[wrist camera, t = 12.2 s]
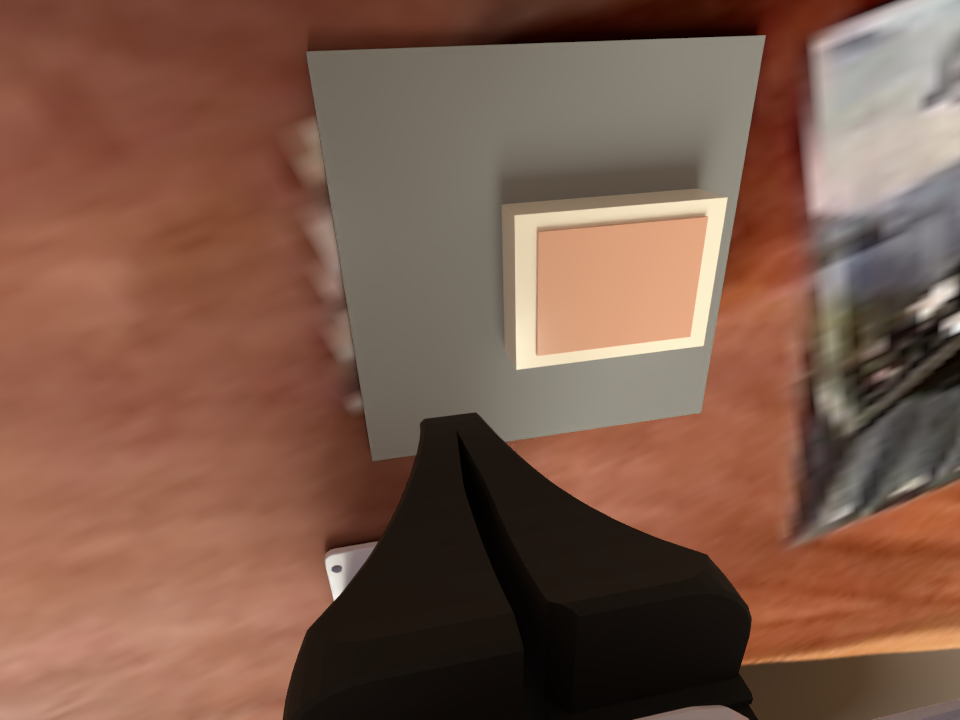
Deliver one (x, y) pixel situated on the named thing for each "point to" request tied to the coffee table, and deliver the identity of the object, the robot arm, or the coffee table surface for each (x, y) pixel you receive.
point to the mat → (505, 180)
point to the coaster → (608, 275)
